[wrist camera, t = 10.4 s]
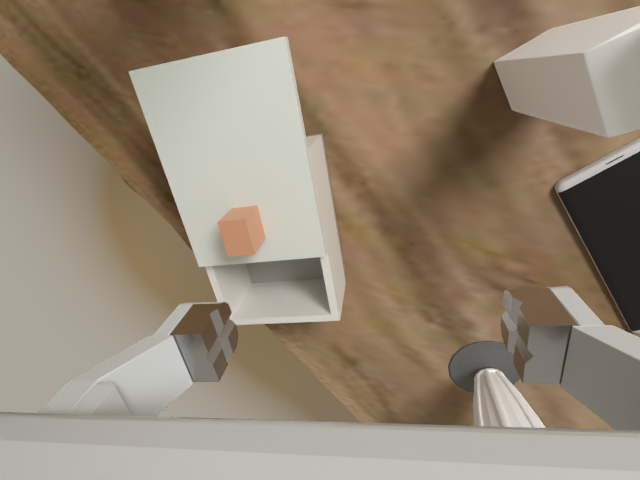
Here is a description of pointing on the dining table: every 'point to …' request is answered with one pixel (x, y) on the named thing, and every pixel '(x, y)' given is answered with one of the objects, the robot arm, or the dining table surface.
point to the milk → (579, 74)
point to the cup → (492, 385)
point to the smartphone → (610, 222)
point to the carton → (290, 271)
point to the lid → (235, 153)
